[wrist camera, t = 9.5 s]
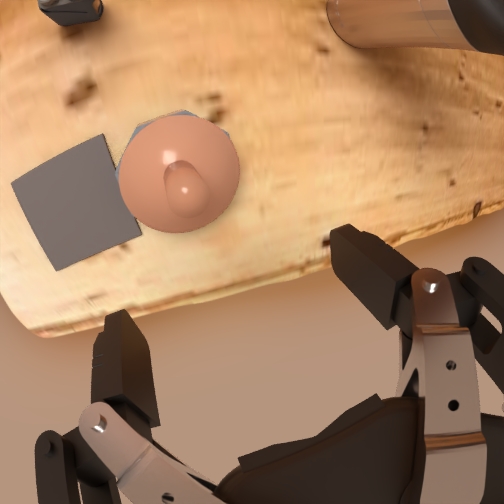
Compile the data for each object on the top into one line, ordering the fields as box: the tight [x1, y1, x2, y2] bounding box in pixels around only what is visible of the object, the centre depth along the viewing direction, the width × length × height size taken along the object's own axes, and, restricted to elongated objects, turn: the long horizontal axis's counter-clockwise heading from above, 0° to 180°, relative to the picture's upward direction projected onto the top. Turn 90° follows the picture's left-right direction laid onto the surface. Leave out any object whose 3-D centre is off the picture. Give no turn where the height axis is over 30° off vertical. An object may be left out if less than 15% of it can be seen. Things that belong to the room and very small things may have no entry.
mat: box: [11, 134, 142, 271], centre depth 26 cm, size 12×12×1 cm
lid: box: [119, 115, 240, 233], centre depth 22 cm, size 11×11×7 cm
